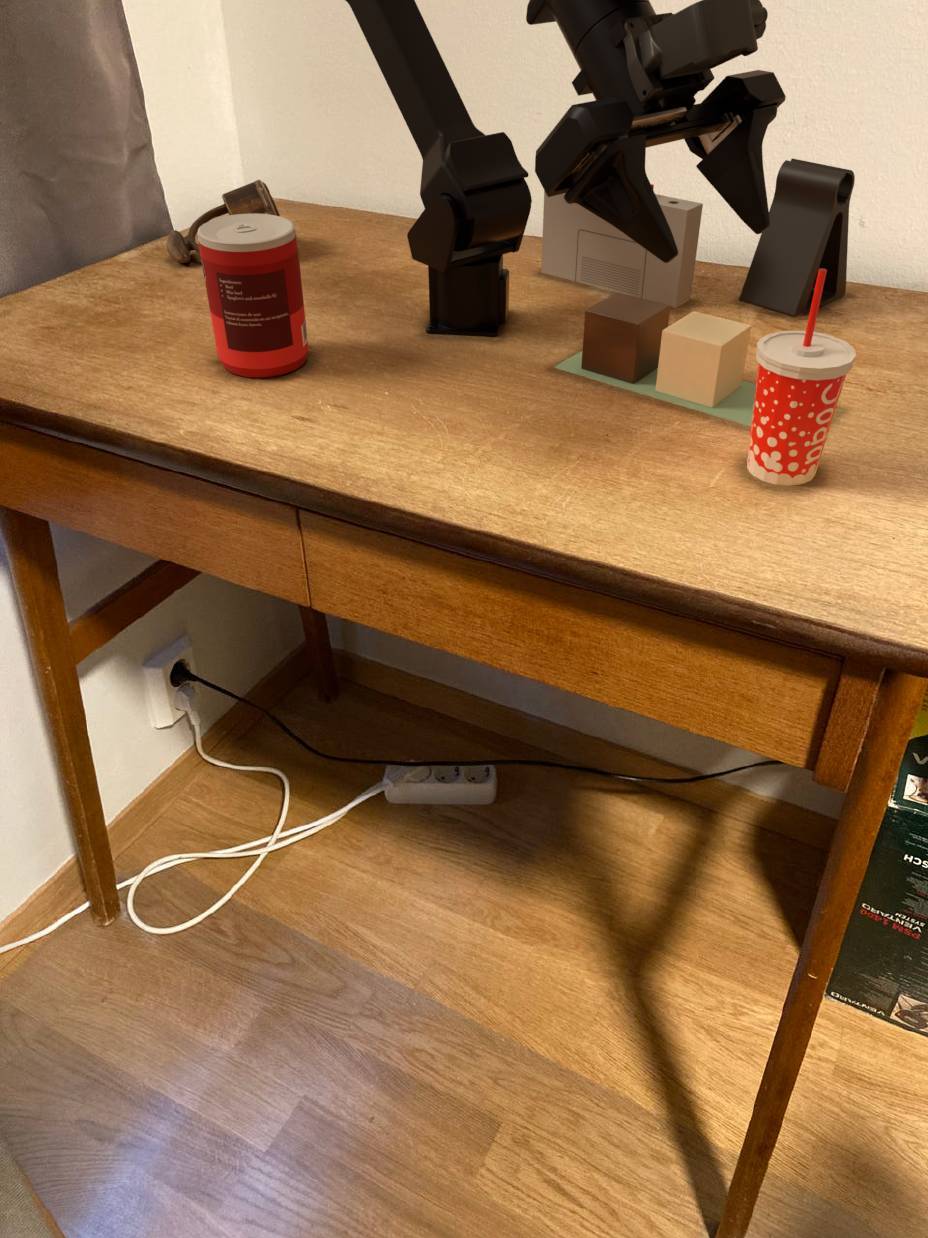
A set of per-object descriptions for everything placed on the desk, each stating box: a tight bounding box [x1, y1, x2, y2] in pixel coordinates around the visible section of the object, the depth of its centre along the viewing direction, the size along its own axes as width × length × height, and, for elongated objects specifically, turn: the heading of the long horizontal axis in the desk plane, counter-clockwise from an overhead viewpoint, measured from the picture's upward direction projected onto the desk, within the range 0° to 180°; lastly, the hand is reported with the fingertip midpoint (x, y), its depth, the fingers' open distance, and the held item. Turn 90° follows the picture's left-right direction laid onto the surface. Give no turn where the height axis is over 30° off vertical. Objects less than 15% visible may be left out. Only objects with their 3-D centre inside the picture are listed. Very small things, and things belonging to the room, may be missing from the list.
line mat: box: [553, 350, 838, 428], centre depth 80 cm, size 22×7×1 cm, turn 52°
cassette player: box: [540, 183, 704, 309], centre depth 95 cm, size 16×3×10 cm, turn 50°
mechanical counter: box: [166, 179, 281, 264], centre depth 105 cm, size 7×13×10 cm
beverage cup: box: [746, 268, 857, 487], centre depth 65 cm, size 6×6×14 cm
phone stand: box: [738, 158, 856, 318], centre depth 92 cm, size 9×6×12 cm, turn 133°
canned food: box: [197, 214, 309, 379], centre depth 82 cm, size 8×8×11 cm
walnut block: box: [581, 292, 672, 384], centre depth 81 cm, size 5×5×5 cm
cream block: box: [655, 310, 752, 408], centre depth 78 cm, size 5×5×5 cm
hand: (719, 244), depth 66 cm, fingers open, 9 cm apart
